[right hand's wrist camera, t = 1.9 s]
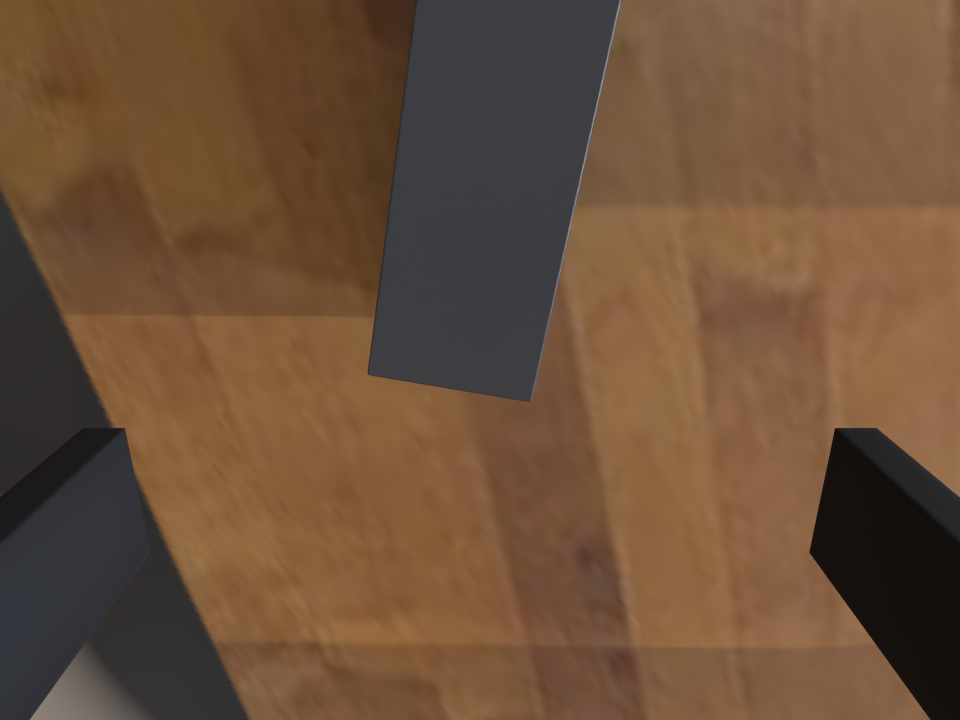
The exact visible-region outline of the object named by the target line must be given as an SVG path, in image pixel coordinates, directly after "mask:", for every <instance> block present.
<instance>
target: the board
mask: <svg viewBox="0 0 960 720" xmlns="http://www.w3.org/2000/svg"><path fill="white" fill-rule="evenodd" d="M620 4H621V0H416V2H415V10H414V18H413V25H412V33H411V41H410V49H409V56H408V64H407V72H406V80H405V87H404V95H403V103H402V111H401V118H400V126H399V134H398V142H397V149H396V157H395V165H394V173H393V180H392V188H391V196H390V204H389V211H388V219H387V227H386V234H385V242H384V250H383V258H382V265H381V273H380V281H379V289H378V296H377V304H376V312H375V320H374V327H373V335H372V343H371V351H370V358H369V366H368V375H371V376H377V377H383V378H389V379H395V380H401V381H407V382H413V383H419V384H425V385H431V386H437V387H443V388H449V389H455V390H461V391H467V392H473V393H479V394H484V395H490V396H496V397H502V398H508V399H514V400H520V401H526V402H531V401H532V397H533V392H534V388H535V383H536V379H537V375H538V370H539V366H540V361H541V357H542V352H543V348H544V343H545V339H546V334H547V330H548V325H549V321H550V317H551V312H552V308H553V303H554V299H555V294H556V290H557V285H558V281H559V276H560V272H561V267H562V263H563V258H564V254H565V250H566V245H567V241H568V236H569V232H570V227H571V223H572V218H573V214H574V209H575V205H576V200H577V196H578V191H579V187H580V183H581V178H582V174H583V169H584V165H585V160H586V156H587V151H588V147H589V142H590V138H591V133H592V129H593V124H594V120H595V116H596V111H597V107H598V102H599V98H600V93H601V89H602V84H603V80H604V75H605V71H606V66H607V62H608V57H609V53H610V49H611V44H612V40H613V35H614V31H615V26H616V22H617V17H618V13H619V8H620Z"/></svg>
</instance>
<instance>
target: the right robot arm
mask: <svg viewBox="0 0 960 720" xmlns="http://www.w3.org/2000/svg"><path fill="white" fill-rule="evenodd" d="M150 553H151V552H150V547H149V542H148V537H147V533H146V528H145V523H144V518H143V513H142V509H141V504H140V499H139V494H138V489H137V484H136V480H135V475H134V470H133V465H132V460H131V456H130V451H129V446H128V441H127V436H126V432H125V428H83V429H82V430H81V431H79V432H78V433H77V434H76V435H75V436H73V437H72V438H71V439H70V440H69V441H67V442H66V443H65V444H64V445H63V446H61V447H60V448H59V449H58V450H57V451H55V452H54V453H53V454H52V455H51V456H49V457H48V458H47V459H46V460H45V461H43V462H42V463H41V464H40V465H39V466H37V467H36V468H35V469H34V470H33V471H31V472H30V473H29V474H28V475H27V476H25V477H24V478H23V479H22V480H21V481H19V482H18V483H17V484H16V485H15V486H13V487H12V488H11V489H10V490H9V491H7V492H6V493H5V494H4V495H3V496H1V497H0V720H30V718H31V717H32V715H33V714H34V713H35V711H36V710H37V709H38V707H39V706H40V704H41V703H42V702H43V700H44V699H45V698H46V696H47V695H48V693H49V692H50V691H51V689H52V688H53V687H54V685H55V684H56V682H57V681H58V680H59V678H60V677H61V675H62V674H63V673H64V671H65V670H66V669H67V667H68V666H69V664H70V663H71V662H72V660H73V659H74V658H75V656H76V655H77V653H78V652H79V651H80V649H81V648H82V646H83V645H84V644H85V642H86V641H87V640H88V638H89V637H90V635H91V634H92V633H93V631H94V630H95V629H96V627H97V626H98V624H99V623H100V622H101V620H102V619H103V617H104V616H105V615H106V613H107V612H108V611H109V609H110V608H111V606H112V605H113V604H114V602H115V601H116V600H117V598H118V597H119V595H120V594H121V593H122V591H123V590H124V589H125V587H126V586H127V584H128V583H129V582H130V580H131V579H132V577H133V576H134V575H135V573H136V572H137V571H138V569H139V568H140V566H141V565H142V564H143V562H144V561H145V559H146V558H147V557H148V555H149V554H150ZM809 553H810V554H811V555H812V557H813V558H814V560H815V561H816V562H817V564H818V565H819V566H820V568H821V569H822V571H823V572H824V573H825V575H826V576H827V577H828V579H829V580H830V582H831V583H832V584H833V586H834V587H835V589H836V590H837V591H838V593H839V594H840V595H841V597H842V598H843V600H844V601H845V602H846V604H847V605H848V606H849V608H850V609H851V611H852V612H853V613H854V615H855V616H856V618H857V619H858V620H859V622H860V623H861V624H862V626H863V627H864V629H865V630H866V631H867V633H868V634H869V635H870V637H871V638H872V640H873V641H874V642H875V644H876V645H877V646H878V648H879V649H880V651H881V652H882V653H883V655H884V656H885V658H886V659H887V660H888V662H889V663H890V664H891V666H892V667H893V669H894V670H895V671H896V673H897V674H898V675H899V677H900V678H901V680H902V681H903V682H904V684H905V685H906V687H907V688H908V689H909V691H910V692H911V693H912V695H913V696H914V698H915V699H916V700H917V702H918V703H919V704H920V706H921V707H922V709H923V710H924V711H925V713H926V714H927V716H928V717H929V718H930V720H960V497H959V496H957V495H956V494H955V493H954V492H953V491H951V490H950V489H949V488H948V487H947V486H945V485H944V484H943V483H942V482H941V481H939V480H938V479H937V478H936V477H935V476H933V475H932V474H931V473H930V472H929V471H927V470H926V469H925V468H924V467H923V466H921V465H920V464H919V463H918V462H917V461H915V460H914V459H913V458H912V457H911V456H909V455H908V454H907V453H906V452H905V451H903V450H902V449H901V448H900V447H899V446H897V445H896V444H895V443H894V442H893V441H891V440H890V439H889V438H888V437H887V436H885V435H884V434H883V433H882V432H881V431H879V430H878V429H877V428H835V432H834V436H833V441H832V446H831V451H830V456H829V460H828V465H827V470H826V475H825V480H824V484H823V489H822V494H821V499H820V504H819V508H818V513H817V518H816V523H815V528H814V533H813V537H812V542H811V547H810V552H809Z"/></svg>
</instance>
